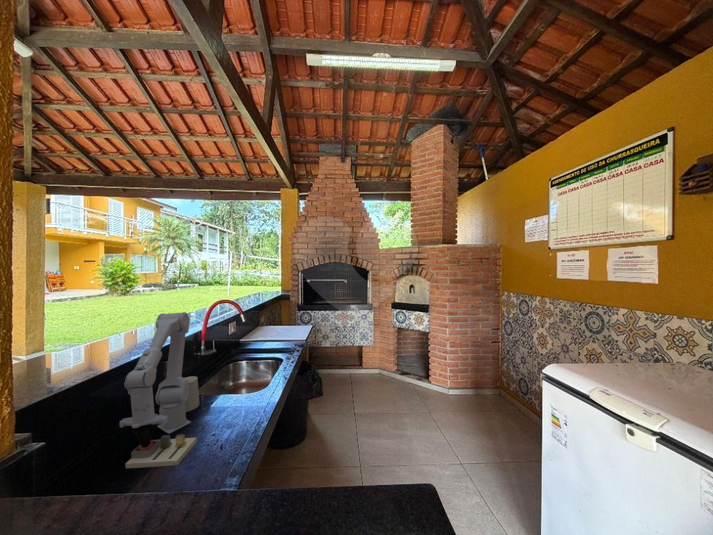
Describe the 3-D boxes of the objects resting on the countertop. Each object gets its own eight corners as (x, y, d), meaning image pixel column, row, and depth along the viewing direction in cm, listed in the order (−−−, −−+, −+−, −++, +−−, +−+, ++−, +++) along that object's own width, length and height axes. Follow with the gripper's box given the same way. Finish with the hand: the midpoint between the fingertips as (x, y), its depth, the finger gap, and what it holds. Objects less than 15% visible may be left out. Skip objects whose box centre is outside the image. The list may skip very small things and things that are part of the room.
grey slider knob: (160, 448, 92) (159, 438, 92) (163, 444, 94) (163, 434, 94) (168, 447, 92) (167, 437, 92) (172, 443, 94) (171, 434, 94)
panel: (125, 468, 86) (124, 457, 86) (151, 444, 97) (150, 434, 97) (177, 465, 86) (176, 454, 86) (196, 441, 97) (196, 432, 97)
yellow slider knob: (175, 447, 92) (174, 437, 92) (178, 443, 94) (177, 434, 94) (183, 446, 92) (182, 437, 92) (186, 442, 94) (185, 433, 94)
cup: (184, 402, 125) (182, 377, 125) (202, 401, 126) (200, 375, 125) (173, 413, 117) (171, 385, 116) (193, 411, 118) (191, 383, 117)
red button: (137, 456, 89) (136, 449, 89) (145, 448, 93) (145, 442, 93) (148, 455, 89) (147, 448, 89) (156, 447, 93) (155, 441, 93)
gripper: (109, 413, 86) (113, 455, 87) (156, 411, 86) (159, 452, 87) (128, 402, 93) (131, 440, 94) (171, 399, 93) (174, 438, 94)
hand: (146, 445), depth 91 cm, fingers closed, pressing on red button
